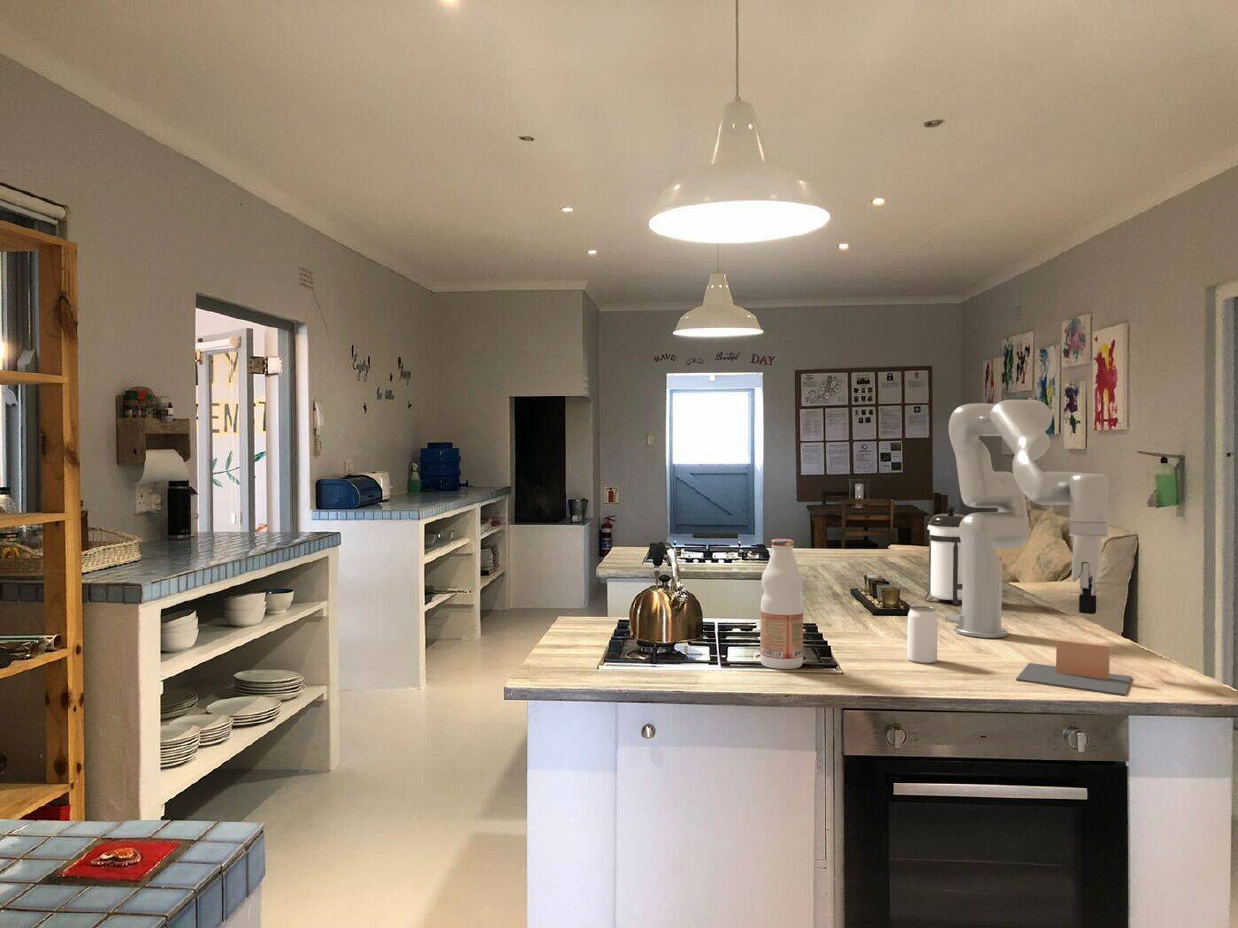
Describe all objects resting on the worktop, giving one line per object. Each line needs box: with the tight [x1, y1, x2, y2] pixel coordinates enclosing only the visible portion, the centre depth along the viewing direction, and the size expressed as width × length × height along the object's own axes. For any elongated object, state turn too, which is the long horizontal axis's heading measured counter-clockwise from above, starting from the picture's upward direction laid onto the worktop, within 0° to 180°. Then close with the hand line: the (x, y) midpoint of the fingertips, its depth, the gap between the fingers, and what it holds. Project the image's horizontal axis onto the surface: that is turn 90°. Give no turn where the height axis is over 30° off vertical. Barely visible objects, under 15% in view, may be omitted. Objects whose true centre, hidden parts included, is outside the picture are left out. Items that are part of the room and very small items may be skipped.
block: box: [1055, 638, 1111, 680], centre depth 190 cm, size 10×2×7 cm, turn 56°
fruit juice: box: [759, 538, 804, 670], centre depth 199 cm, size 9×9×28 cm
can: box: [906, 605, 939, 665], centre depth 204 cm, size 6×6×12 cm
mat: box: [1015, 662, 1132, 697], centre depth 188 cm, size 20×16×1 cm
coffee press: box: [924, 505, 966, 607], centre depth 277 cm, size 17×16×30 cm
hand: (1087, 612), depth 196 cm, fingers closed
